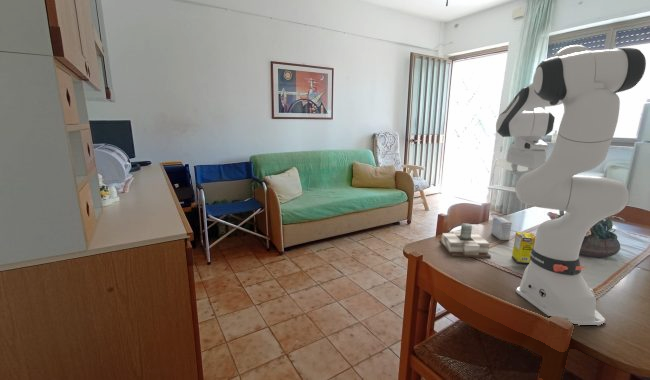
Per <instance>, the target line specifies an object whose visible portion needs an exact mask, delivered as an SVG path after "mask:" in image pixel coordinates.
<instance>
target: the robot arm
mask: <svg viewBox="0 0 650 380" xmlns="http://www.w3.org/2000/svg"><path fill="white" fill-rule="evenodd" d="M646 67H647V61H646V57H645V55H644V53H643V52H642V51H641V50H640V49H638V48H633V47H619V48H616V49H600V50H591V49H590V48H588V47H587V46H584V45H580V44H573V45H569V46H565V47H562V48H561V49H560V50H558V51H557V52H556V53H555V54H554V55H553V57H549V58H547V59H545V60H542V61H541V62H539V64H538V66H537V67H536V68H535V72H534V75H533V79H532V83H529V85H526V86H525V87H523V88H521V89H520V90H519V91H518V93H517V94H516V95H515V97H513V99H512V101H511V102H509V104H508V105H507V107H506V108H505V109H504V110H503V112H502V113H500V115H499V116H498V118H497V120H496V125H495V131H496V132H497V133H498V134H499V135H500V136H501V137H503V138H506V137H507V138H509V137H514V141H513V142H512V143H511V144H510V146H509V148H508V150H507V153H506V154H507V155H506V162H507V163H509V164H511V165H510V166H511V170H512V171H511V174H512V175H518V174H519V170H518V167H519V166H521V167H525V168H527V172H526V173H524V174H523V175H521V176H520V177H519V178H518V180H517V182H516V184H515V195H516V198H518V201H519V202H521V203H523V204H526V205H530V206H532V207H536V208H541V209H549V210H557V211H564V212H565V213H564V214H563V215H561V216H560V217H557V218H553V219H549V220H546V221H543V222H542V223H540V224H539V225H538V227H537V228H536V234H535V236H536V238H535V243H534V247H533V248H532V250H531V253H530V259H531V261H530V263H529V264H527V266H526V267H525V269H524V272H523V274H522V278H521V281H520V285H519V286H517V288H516V289H515V293H517V294H518V295H519V296H521V297H522V298H523V299H525V300H526V301H527V302H528V303H530V304H531V305H533V306H534V307H536V308H537V309H539V310H540V311H541V312H542V313H544V314H545V315H546V316H548V317H549V316H558V317H561V318H564V319H566V320H568V321H570V322H572V323H574V324H578V325H577V326H580V325H597V326H601V324H602V325H604V324H605V323H606V318H605V317H604V316H603V315H602V314H601V313H600V312H599V311H598V310H597V309H596V308H597V307H596V306H597V300H596V296H595V291H594V290H593V288H590V287H589V285H588V284H587V282H586V280H585V279H584V277H583V276H582V271H585V269H584V268H585V266H581V260H580V258H579V257H580V251H581V248H582V245H583V241H584V239H585V237H586V235H587V233H588V232H589V230H590V229H591V228H593V226H594V225H596V224H597V223H599V222H600V221H602V220H605V219H607V218H608V217H610V216H613V215H617V214H618V213H620V212H622V210H624V209H625V207H626V206H627V204H628V203H629V200H630V199H629V197H630V194H629V190H628V188H627V187H626V185H625V184H624V183H623V182H622V181H621V180H616V179H612V178H610V177H609V178H608V177H605V176H600V175H599V176H598V175H587V174H582V173H585V172H589V171H592V170H594V169H596V168H597V167H599V166H600V165H602V163H604V161H605V160H606V158H607V155H608V153H609V149H610V147H611V144H612V140H613V137H614V135H615V132H616V129H617V126H618V120H619V116H620V115H619V114H620V105H621V101H620V97H619V95H618V94H617V93H621V92H625V91H628V90H630V89H632V88H634V87H635V86H637V85H638V83H640V81H642V78H643V76H644V74H645V72H646ZM559 105H563V114H562V118H561V121H560V123H559V126H558V127H559V128H558V132H557V134H556V139H555V142H554V145H553V148H552V151H551V154H550V156H549V157H548V158H547V150H548V149H549V144H547V143H546V142H545V141H543V140H542V139H541V138H542V137H545V136H547V135H549V134H550V133H551V132H553V131H554V130H553V129H554V126H555V119H556V117H555V116H554V115H553V114H552V113H551V112H550V111H547V110H546V107H547V108H548V107H555V106H559ZM546 158H547V159H546ZM603 323H604V324H603Z"/></svg>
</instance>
